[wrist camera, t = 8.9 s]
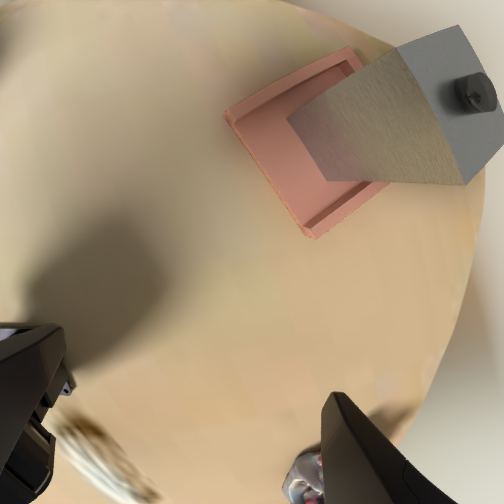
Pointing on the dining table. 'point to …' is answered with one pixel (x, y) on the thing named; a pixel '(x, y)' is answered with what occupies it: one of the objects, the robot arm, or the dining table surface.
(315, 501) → the brake caliper
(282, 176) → the tray
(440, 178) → the knobbed tall block
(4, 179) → the dining table surface
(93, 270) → the dining table surface
